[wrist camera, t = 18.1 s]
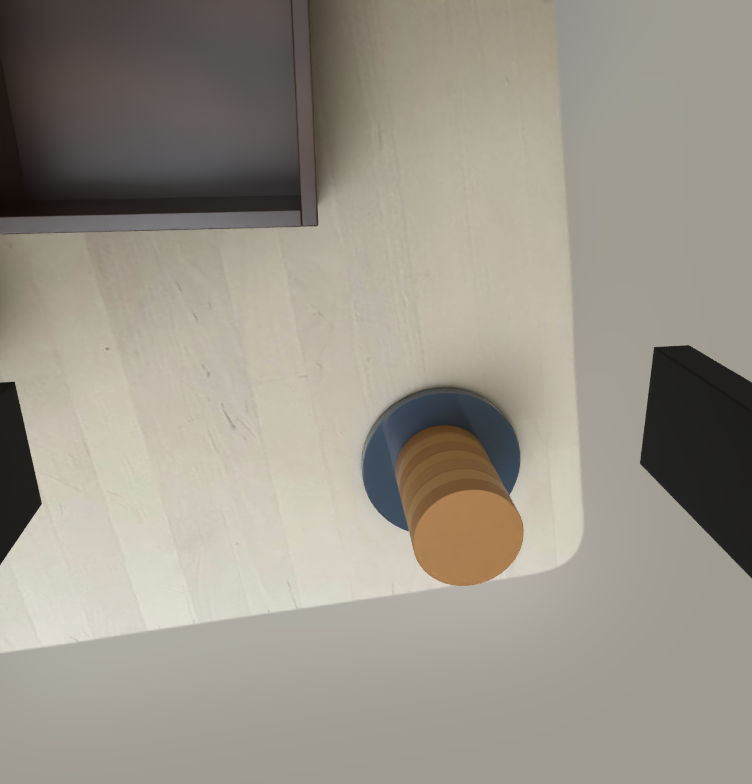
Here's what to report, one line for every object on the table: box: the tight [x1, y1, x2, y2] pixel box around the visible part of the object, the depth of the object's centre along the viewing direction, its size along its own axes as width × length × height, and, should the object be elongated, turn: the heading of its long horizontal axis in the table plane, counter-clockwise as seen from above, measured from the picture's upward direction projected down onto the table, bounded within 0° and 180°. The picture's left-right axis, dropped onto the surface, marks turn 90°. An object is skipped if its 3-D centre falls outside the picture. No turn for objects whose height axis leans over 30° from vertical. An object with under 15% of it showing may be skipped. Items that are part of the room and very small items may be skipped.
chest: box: [0, 0, 318, 234], centre depth 38 cm, size 20×19×9 cm
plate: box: [361, 388, 520, 531], centre depth 54 cm, size 12×12×1 cm
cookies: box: [395, 425, 523, 586], centre depth 49 cm, size 7×7×10 cm
